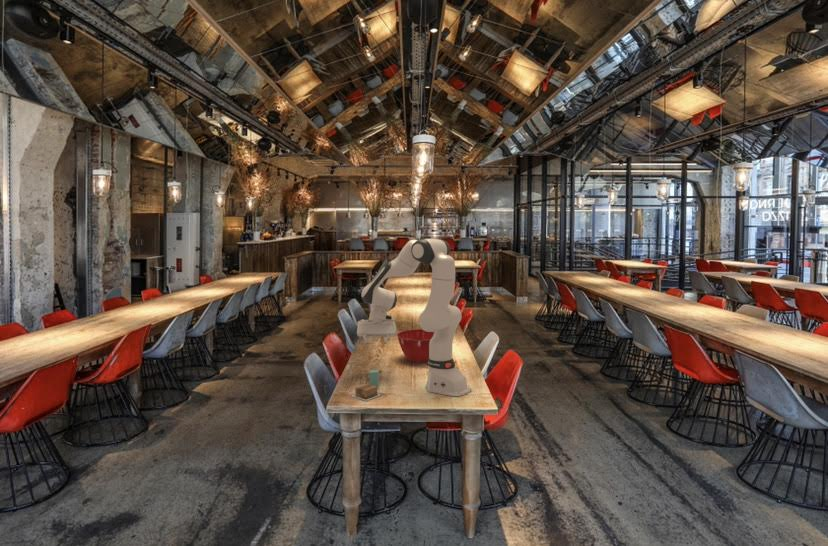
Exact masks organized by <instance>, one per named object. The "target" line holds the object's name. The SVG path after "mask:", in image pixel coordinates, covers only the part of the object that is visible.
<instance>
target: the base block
mask: <svg viewBox="0 0 828 546" xmlns="http://www.w3.org/2000/svg"><path fill="white" fill-rule="evenodd" d="M377 393H378V388H377V386H373V385H370V383H363V384H360V385H358V386H355V392H354V394H355V395H356V396H358V397H361V398H364V399H368V398H371V397H373V396H376V395H377Z"/></svg>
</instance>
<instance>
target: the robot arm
mask: <svg viewBox="0 0 828 546" xmlns="http://www.w3.org/2000/svg"><path fill="white" fill-rule="evenodd" d="M450 254H451V246H450V243H448V241H446V240H444V239H441V238H424V239H423V238H421V239H409V241H407V242H406V244H405V245H404V246H403V247H402V249H401V250H400V252H399V254H398V255H397V257H395V258H394V259H393V260H391V261H387V262H386V263H385V264H384V265H382V267H381V268H380V269H379V270H378V272H377V273H376V274H375V276H373V278H372V279H371V281H370V282H368V283H367V284H366V285H365V286H363V289H362V291H361V293H360V294H361V295H360V296H361V299H362V301H363V302H364V303H365V304H368V305H370V313H369V319H360V320H358V321H357V324H356V326H357V329H356V335H357V336H358V337H361V338H362V337H363V340H364V344H366V345H367V344H369V339H368V338H370V337H371V338H373V337H374V338H384V339H383V344H384V345H387V344H388V341H389V340H390V338H395V337H396V336H397V326H396V320H395V317H394V316H392V315H389V314H387V312H390V311H391V310H393V309H394V308H395V307H396V306H397V301H398V297H397V294H396V293H395V292H394V291H392V290H389V289H387V288H383V287H380V286H381V285H382V283H384V281H385V280H387V279H388V278H393V277H400V278H401V277H402V278H403V277H408V276H411V275H413V274H414V272H415V271H416V270H417V268H418V267H419V265H420V264H421V263H422V264H423V265H426V266H429V265H430V266H431V270H432V273H431V284H430V292H429V293H430V294H429V297H428V299H427V303H426V306H425V308H424V310H423V311H422V313H420V315H419V318H418V323H419V327H420V329H423V330H424V331H426V332H434V335H433V337H432V339H431V340H430V342H429V358H428V363H427V365H428V374H427V380H426V385H425V388H426V392H430V393H434V394H440V395H445V396H450V397H454V398H455V397H461V395H462V396H465V395H467V394H469V393H471V392H472V391H471V390H473V388H472V386H469V385H468V382H467V378H466V376H465V374H463V373H462V372H461V371H460V370H459V369H458V367H456V364H457V363H458V362H457V360H455V361H454V358H453V343H454V338H455V333H456V329H457V328H458V326H459V324H460V323H461V321H462V312H461V310H460V308H459V307H457V306H456V305H449V304H450V301H451V300H452V299H453V297H455V296H454V295H455V287H456V286H455V284H456V263H455V258H453V256H451V255H450ZM367 337H368V338H367ZM470 391H471V392H470Z"/></svg>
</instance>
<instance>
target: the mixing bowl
mask: <svg viewBox="0 0 828 546" xmlns="http://www.w3.org/2000/svg"><path fill="white" fill-rule="evenodd" d="M433 335H434V332H426V331H424V330H423V329H422V328H417V329H408V330H403V331H399V332H398V333H396V336H397V339H398V343H399V346H400V349H401V351H402V353H403V354H404V357H405V358H406V359H407V360H408V361H410V362H412V363H416V364H428V358H429V342H430V340H431V339H432V337H433Z"/></svg>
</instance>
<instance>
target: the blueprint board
mask: <svg viewBox="0 0 828 546" xmlns="http://www.w3.org/2000/svg"><path fill="white" fill-rule="evenodd" d="M383 396H385V394H383V393H381V392H377V395H376V396H373V397H371V398H368V399H364V398H361V397H358V396H356V395H355V393H351V394H349V395H348V397H349V398H351V399H352V398H353V399H356V400H358V401H362V402H365V403H368V402H370V401H372V400H376V399H378V398H381V397H383Z"/></svg>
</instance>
